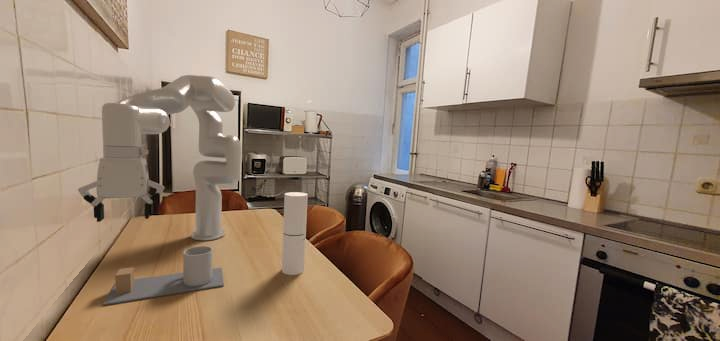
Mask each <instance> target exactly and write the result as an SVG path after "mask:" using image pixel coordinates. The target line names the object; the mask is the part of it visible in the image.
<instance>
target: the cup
mask: <svg viewBox="0 0 720 341" xmlns="http://www.w3.org/2000/svg"><path fill="white" fill-rule="evenodd" d="M213 251H214V250H213V247H211V246H208V245H198V246H192V247H189V248H186V249H185V250H183V256H182V257H183V259H182V260H183V261H182V262H183V263H182V264H183V267H182V268H183V269H182V273H183V283H184V284H185V285H186V286H190V287H196V286H201V285H205V284H207V283H209V282H210V281H211V279H212V269H213V256H214V255H213V253H214V252H213Z"/></svg>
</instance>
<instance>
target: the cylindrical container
mask: <svg viewBox="0 0 720 341" xmlns="http://www.w3.org/2000/svg"><path fill="white" fill-rule="evenodd" d="M307 211H308V193H305V192H297V191H293V192H290V191H289V192H285V193H284V202H283V225H282V226H283V229H282V230H283V231H282V254H281V256H282V257H281V272H282V274H285V275H288V276H296V275H300V274H302V273H303V271H304V272H305V265H306V263H305V262H306V261H305V260H306V239H307V238H306V237H307V220H308V219H307V217H308V215H307V214H308V212H307Z"/></svg>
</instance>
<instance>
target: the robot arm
mask: <svg viewBox="0 0 720 341" xmlns="http://www.w3.org/2000/svg"><path fill="white" fill-rule="evenodd" d="M235 105H236V99H235V97H234V94H233V93H232V91H231V90H230V89H229V88H227V86H225V84H223V83H222V81H220V80H219V79H217V78H215V77H213V76H209V75H208V76H207V75H195V74H185V75H181V76H179V77H178V78H176V79H174V80H173V81H171V82H170V83H168V84H167V85H165V86H162V87H161V88H157V89H156V88H155V89H151V90H149V91H148V90H147V91H144V92H139V93H134V94H133V95H132V94H131V95H128V96H126V97H124V98H123V99H121V100H119V101H117V102H106V103H104V104H103V105H102V107H101V123H102V129H101V130H102V152H103V153H102V156H103V157H100V159H99V162H98V166H97V175H96V181H94V182H91V183H88V184H87V185H84V186H81V187H79V188H78V189H77V191H78V193H79V194H80V195H81V196H82V197H83V199H84V201H86V202H88V203H89V204H90V205H91V206H92V207H93V218H94V219H96V223H101V222H102V221H103V220H104V219H105V204H104V203H103V201H104V200H105V199H128V198H132V199H133V198H141V199H143V201H144V202H145V203H144V219H146V220H149V218H150V217H151V215H153V214H154V210H153V209H154V207H153V206H154V204H153V203H154V202H155V201H157V199H159V197H160V196H161V195H162V193H163V191H164V190H165V186H164V185H163V184H160V183H157V182H155V181H152V180H150V178H149V168H148V163H147V159H146V158H142V157H143V156H144V155H149V149H145V148H143V146H142V134H144V135H159V134H162V133H164V132H166V131H167V130H168V128H169V127H170V125H171V124H170V123H171V122H170V120H171V119H170V117H169V115H174V114H179V113H181V112H182V113H183V111H185V110H186V109H187V108H188V107H190V108H191V109H192V110H193V112H194V113H195V115H196V117H197V119H198V152H199V154H200V155H201V156H203V157H206V158H215V159H218V158H219V159H220V158H221V159H225V161H221V160H220V161H219V160H200V161H198V162H196V163H195V165H194V167H193V170H192V172H193V174H192V176H193V179H194V184H195V231H194V232H192V233H191V235H190V238H191V239H192V240H195V241H213V240H218V239H221V238H223V237H225V236H226V232H225V230H224V229H222V211H223V210H222V207H223V206H222V204H223V203H222V201H223V200H222V199H223V198H222V197H223V194H222V191H221V189H220V187H219V186H218V185H227V186H232V185H233V186H234V185H236V184H237V183H238V182H239V181H240V177H241V165H242V163H241V162H242V145H241V141H240V139H239V138H238V137H237V136H235V135H230V134H223V127H224V126H223V120H222V118H221V117H220V116H219V114H218V112H219V113H229V112H232V111H233V110H234V108H235ZM95 188H96V195H97V197H95V196H93V195H92V194H91V193H90V190H92V189H95ZM150 188H153V189H156V191H155V193H154V194H153V195H151V194H150V193H149V192H150Z"/></svg>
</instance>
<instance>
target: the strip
mask: <svg viewBox="0 0 720 341" xmlns="http://www.w3.org/2000/svg"><path fill="white" fill-rule="evenodd" d="M114 276H115V283H114V285H113V287H112V288H111V289H110V292H109V294H108V295H107V297H106V298H105V300H104V302H103V304H102V306H108V305H114V304H121V303H128V302H134V301H139V300H145V299H150V298H157V297H165V296H171V295H177V294H182V293H183V294H184V293H188V292H195V291H201V290H207V289H213V288H221V287H224V286H225V284H224V276H223V267H213V268H212V279H211V281H210V282H209V283H207V284H205V285H201V286H196V287H190V286H186V285H185V284H184V283H183V272H178V273H177V272H176V273H169V274H163V275H156V276H155V275H154V276H147V277H141V278H139V277H138V278H135V266H134V267H133V266H132V267H126V268H125V267H124V268H119V270H118V271H117V272H116V274H115V275H114Z"/></svg>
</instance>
